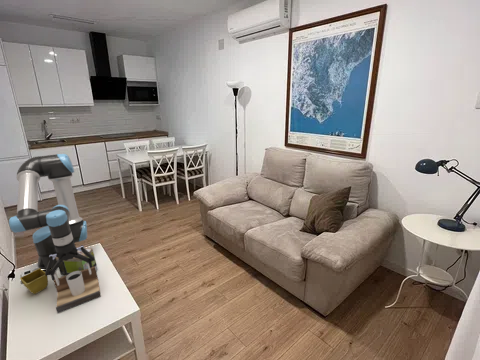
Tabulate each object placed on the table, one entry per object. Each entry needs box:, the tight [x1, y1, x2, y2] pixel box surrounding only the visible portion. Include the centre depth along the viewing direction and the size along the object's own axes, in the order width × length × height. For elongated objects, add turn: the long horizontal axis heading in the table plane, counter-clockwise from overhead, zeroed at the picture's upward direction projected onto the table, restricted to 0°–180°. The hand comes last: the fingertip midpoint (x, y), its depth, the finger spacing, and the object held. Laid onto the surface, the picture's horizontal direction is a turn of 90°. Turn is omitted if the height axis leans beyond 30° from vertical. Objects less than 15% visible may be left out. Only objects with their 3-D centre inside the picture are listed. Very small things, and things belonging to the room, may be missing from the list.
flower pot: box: [19, 268, 49, 295], centre depth 128 cm, size 9×9×9 cm
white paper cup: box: [66, 271, 85, 296], centre depth 124 cm, size 7×7×10 cm
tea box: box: [56, 247, 98, 277], centre depth 138 cm, size 15×10×15 cm
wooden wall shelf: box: [53, 266, 102, 314], centre depth 124 cm, size 14×18×9 cm
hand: (74, 278), depth 124 cm, fingers open, 13 cm apart
